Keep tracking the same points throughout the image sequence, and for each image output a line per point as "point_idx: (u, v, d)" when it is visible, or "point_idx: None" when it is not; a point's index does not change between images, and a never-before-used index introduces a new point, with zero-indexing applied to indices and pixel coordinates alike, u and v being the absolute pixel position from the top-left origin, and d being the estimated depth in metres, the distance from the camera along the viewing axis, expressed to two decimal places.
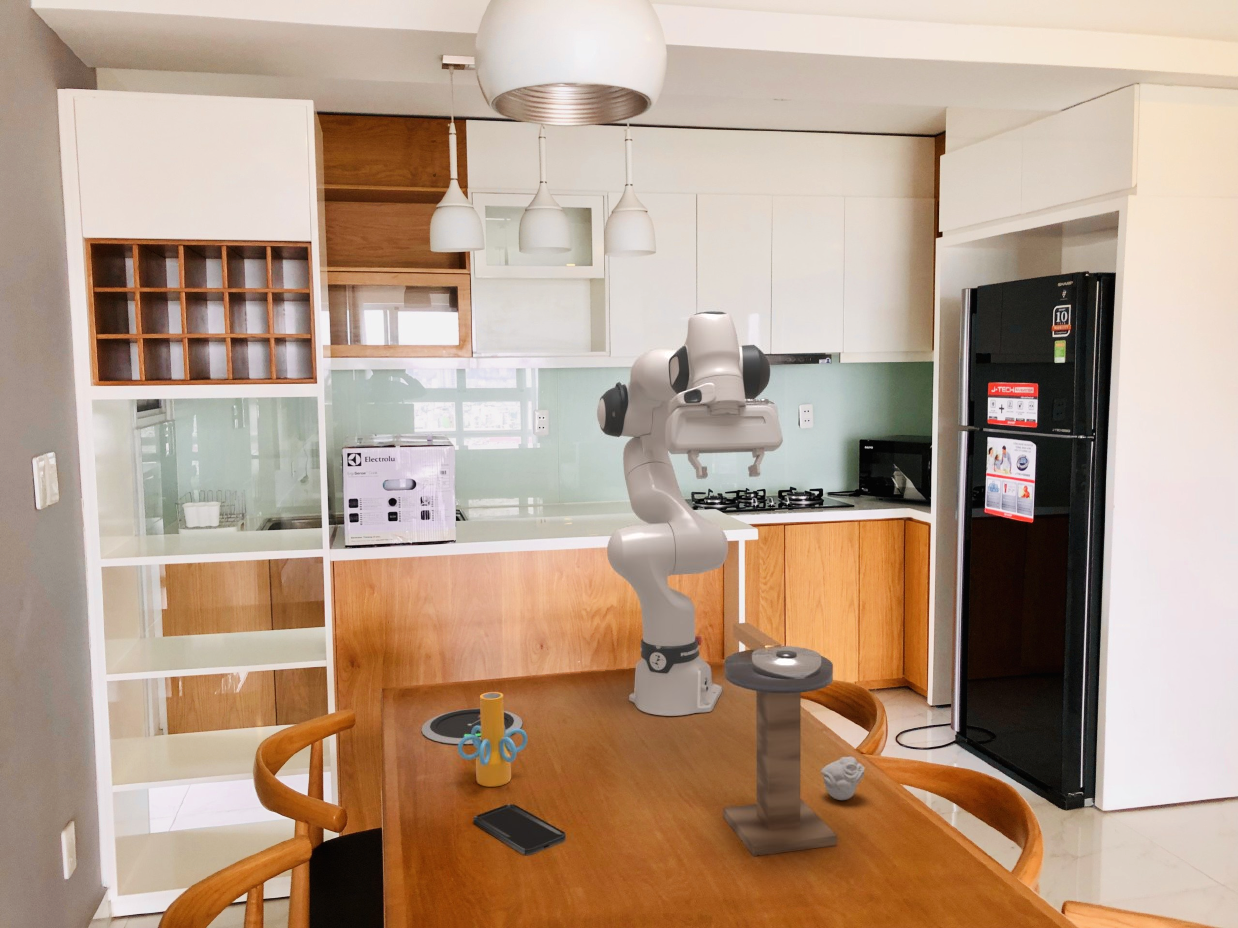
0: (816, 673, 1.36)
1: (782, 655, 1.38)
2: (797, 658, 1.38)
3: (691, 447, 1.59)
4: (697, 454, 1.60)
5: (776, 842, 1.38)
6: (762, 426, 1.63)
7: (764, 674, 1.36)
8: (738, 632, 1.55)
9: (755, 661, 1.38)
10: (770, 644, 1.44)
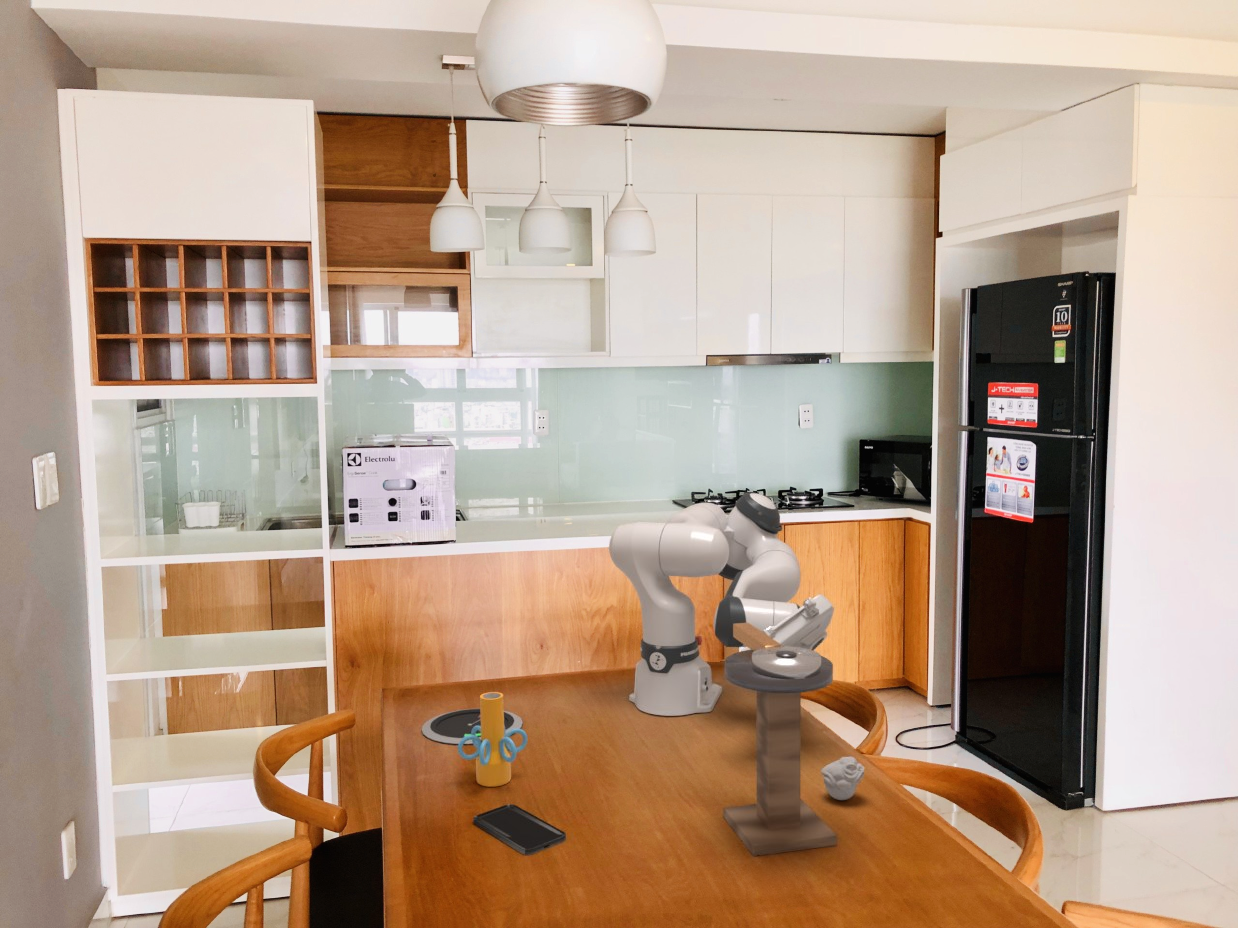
0: (816, 673, 1.36)
1: (782, 655, 1.38)
2: (797, 658, 1.38)
3: (820, 615, 1.72)
4: (814, 613, 1.71)
5: (776, 842, 1.38)
6: None
7: (764, 674, 1.36)
8: (738, 632, 1.55)
9: (755, 661, 1.38)
10: (770, 644, 1.44)
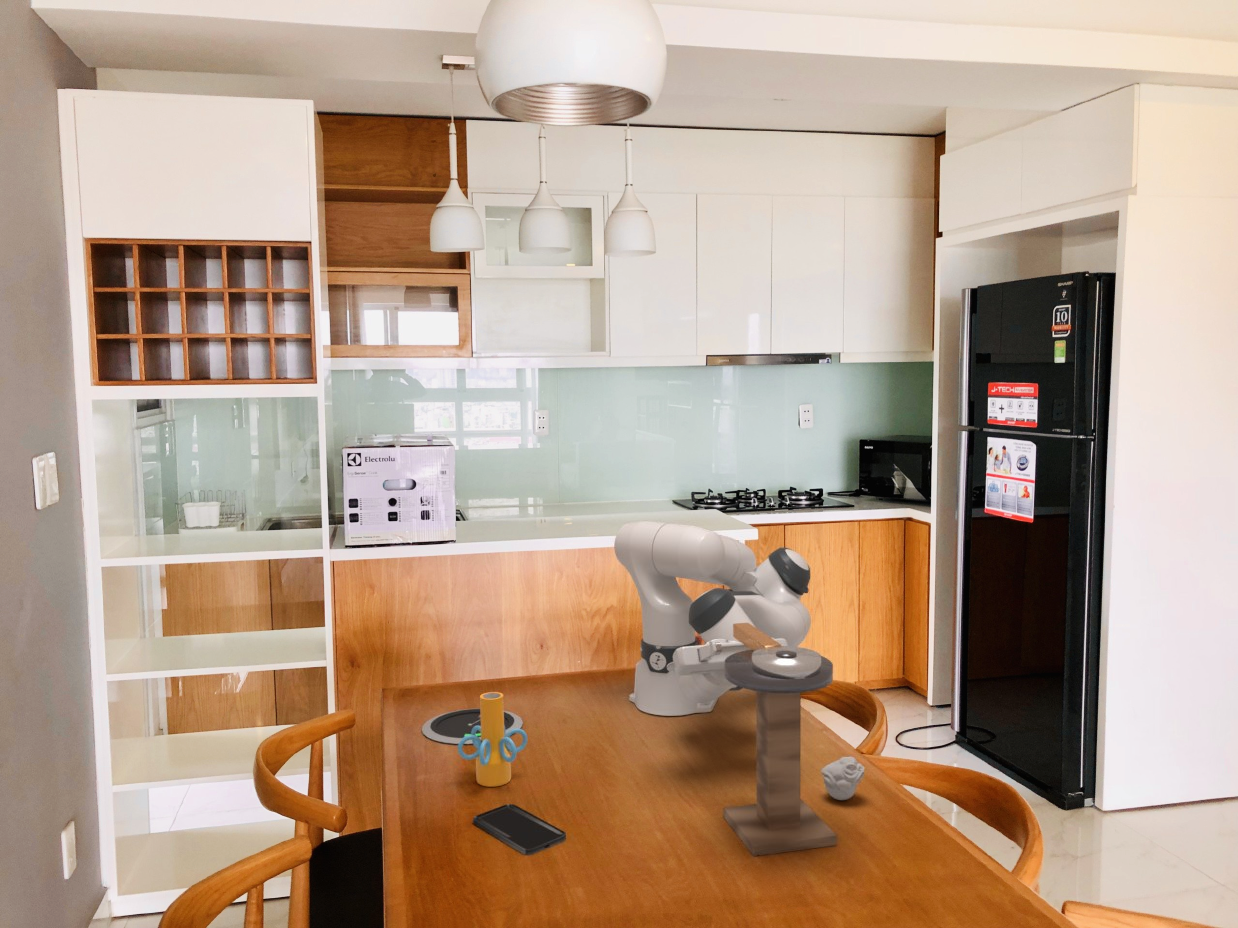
0: (816, 673, 1.36)
1: (782, 655, 1.38)
2: (797, 658, 1.38)
3: None
4: None
5: (776, 842, 1.38)
6: (695, 670, 1.63)
7: (764, 674, 1.36)
8: (738, 632, 1.55)
9: (755, 661, 1.38)
10: (770, 644, 1.44)
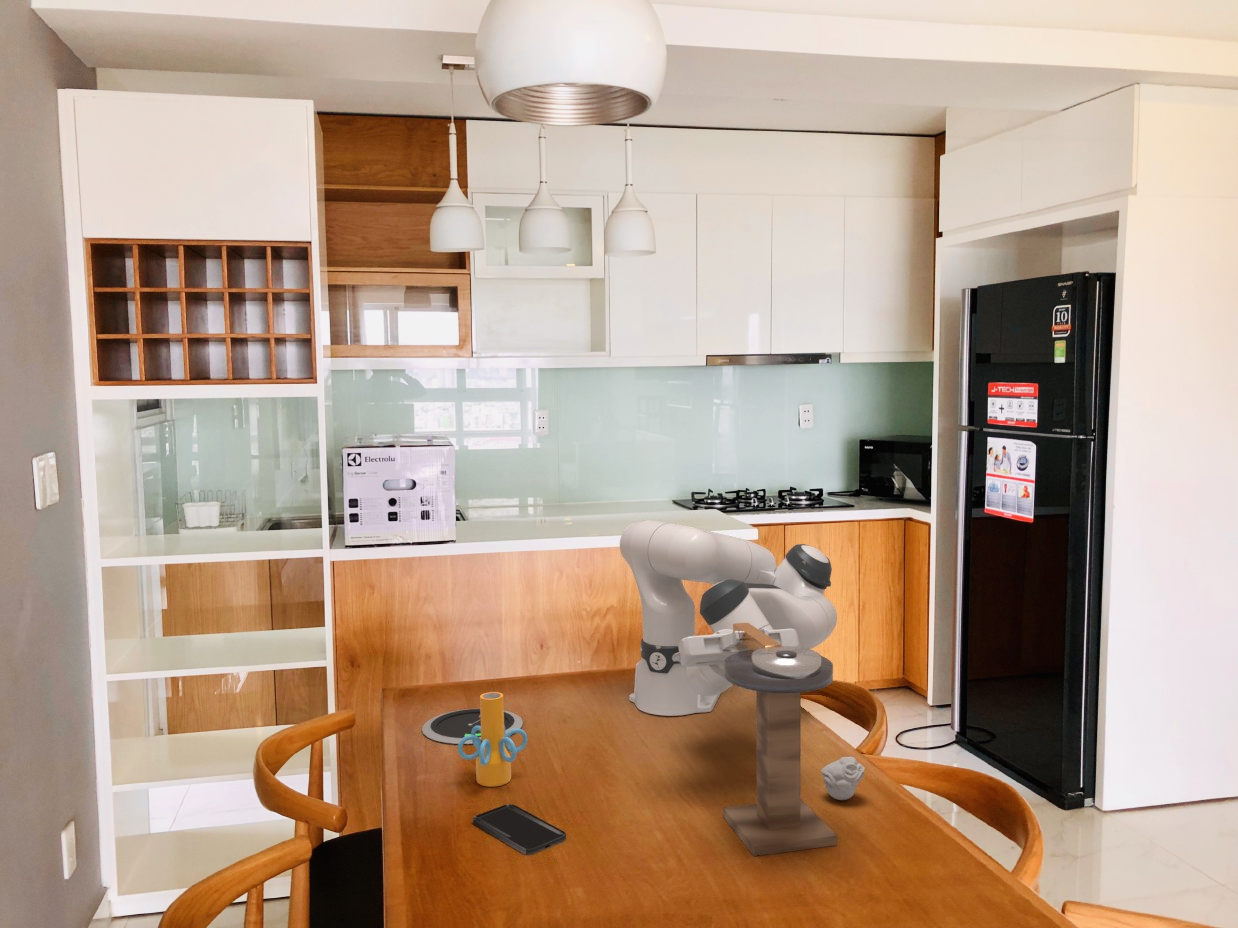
0: (816, 673, 1.36)
1: (782, 655, 1.38)
2: (797, 658, 1.38)
3: None
4: None
5: (776, 842, 1.38)
6: (701, 661, 1.58)
7: (764, 674, 1.36)
8: None
9: (755, 661, 1.38)
10: (770, 644, 1.44)
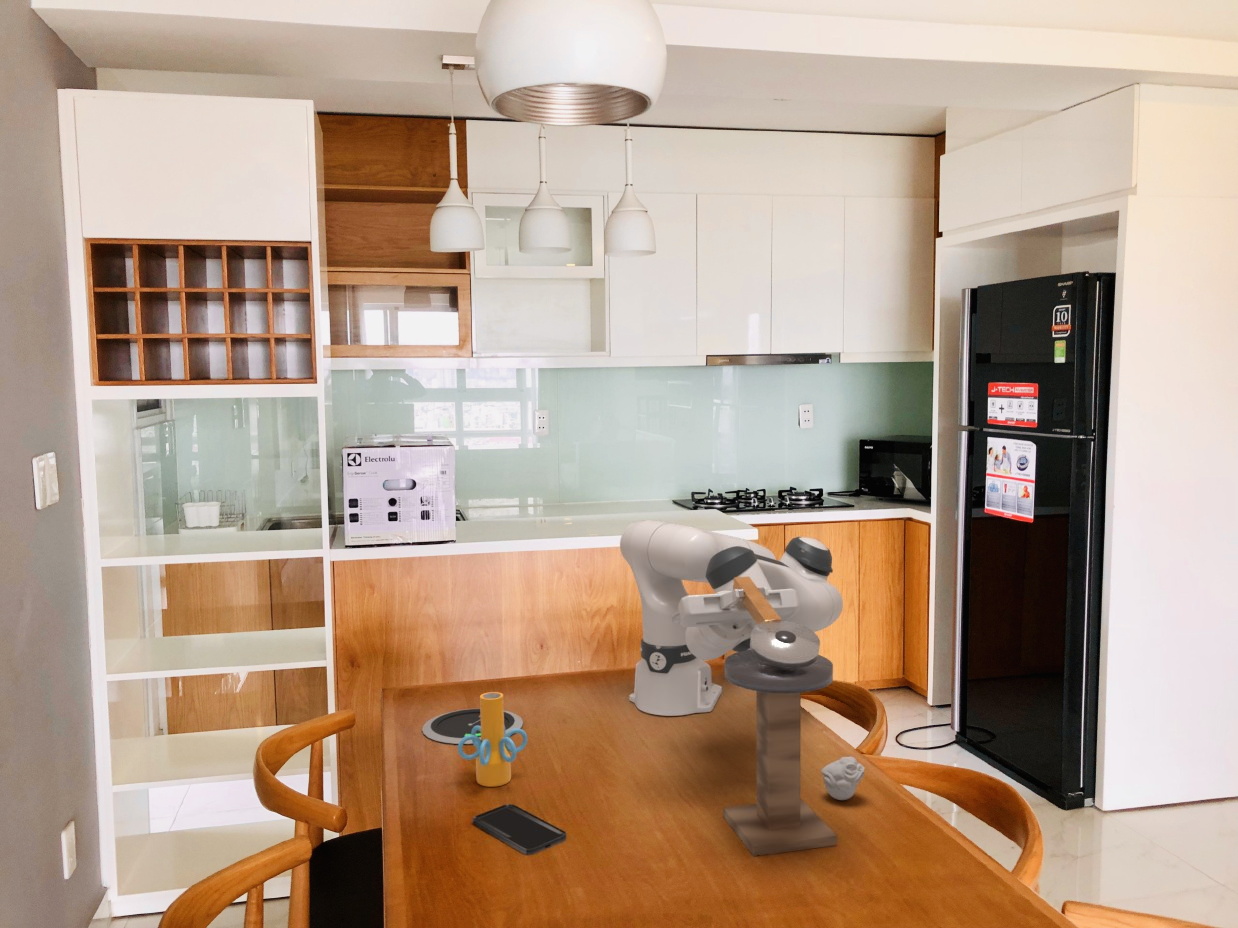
0: (813, 661, 1.37)
1: (781, 639, 1.38)
2: (796, 644, 1.38)
3: (782, 609, 1.57)
4: None
5: (776, 842, 1.38)
6: (701, 621, 1.57)
7: (762, 659, 1.37)
8: None
9: (754, 644, 1.38)
10: (770, 618, 1.44)
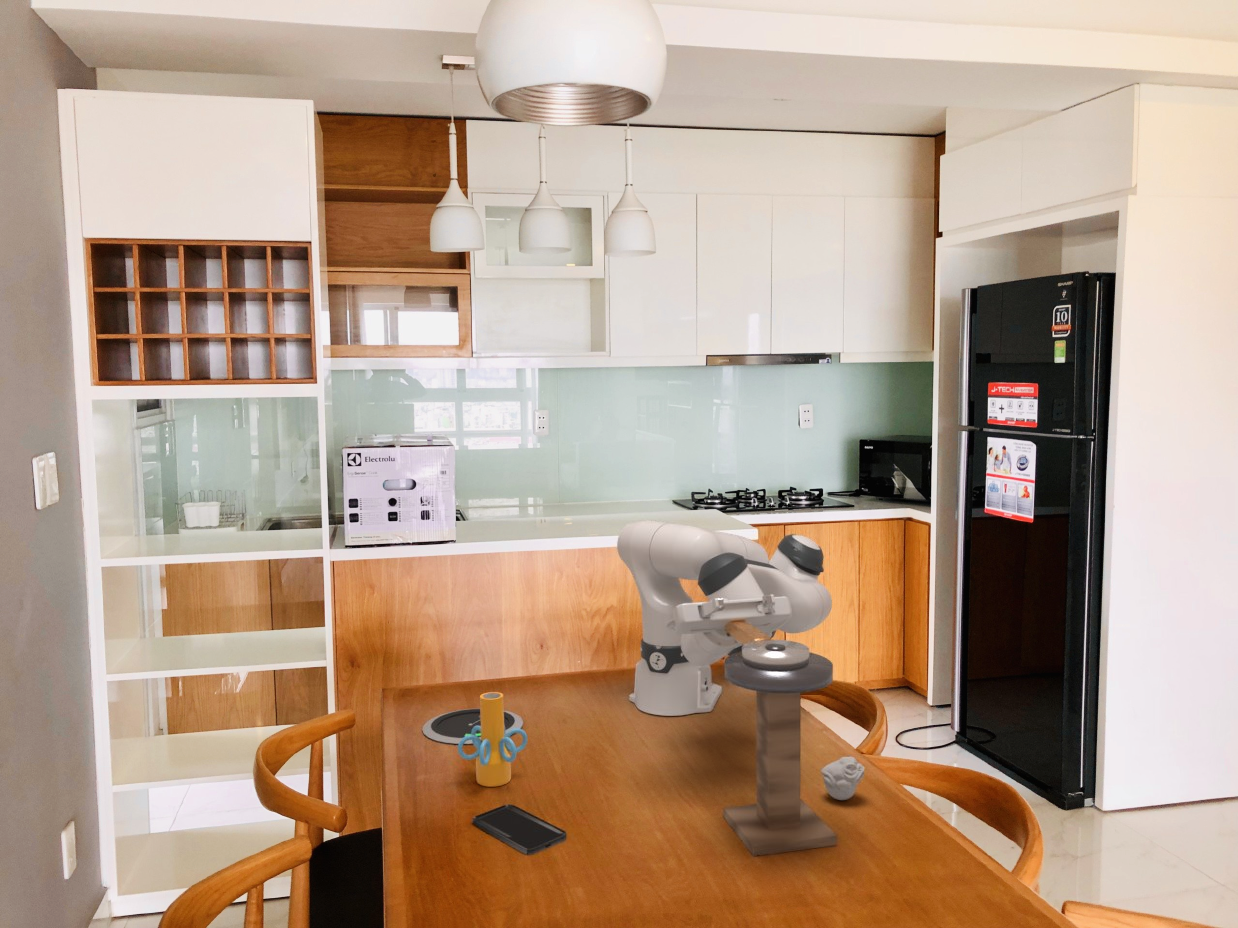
0: (804, 665, 1.40)
1: (771, 648, 1.42)
2: (786, 651, 1.41)
3: (775, 616, 1.60)
4: (768, 611, 1.59)
5: (776, 842, 1.38)
6: (695, 628, 1.60)
7: (753, 666, 1.40)
8: (730, 626, 1.59)
9: (745, 654, 1.42)
10: (760, 638, 1.48)
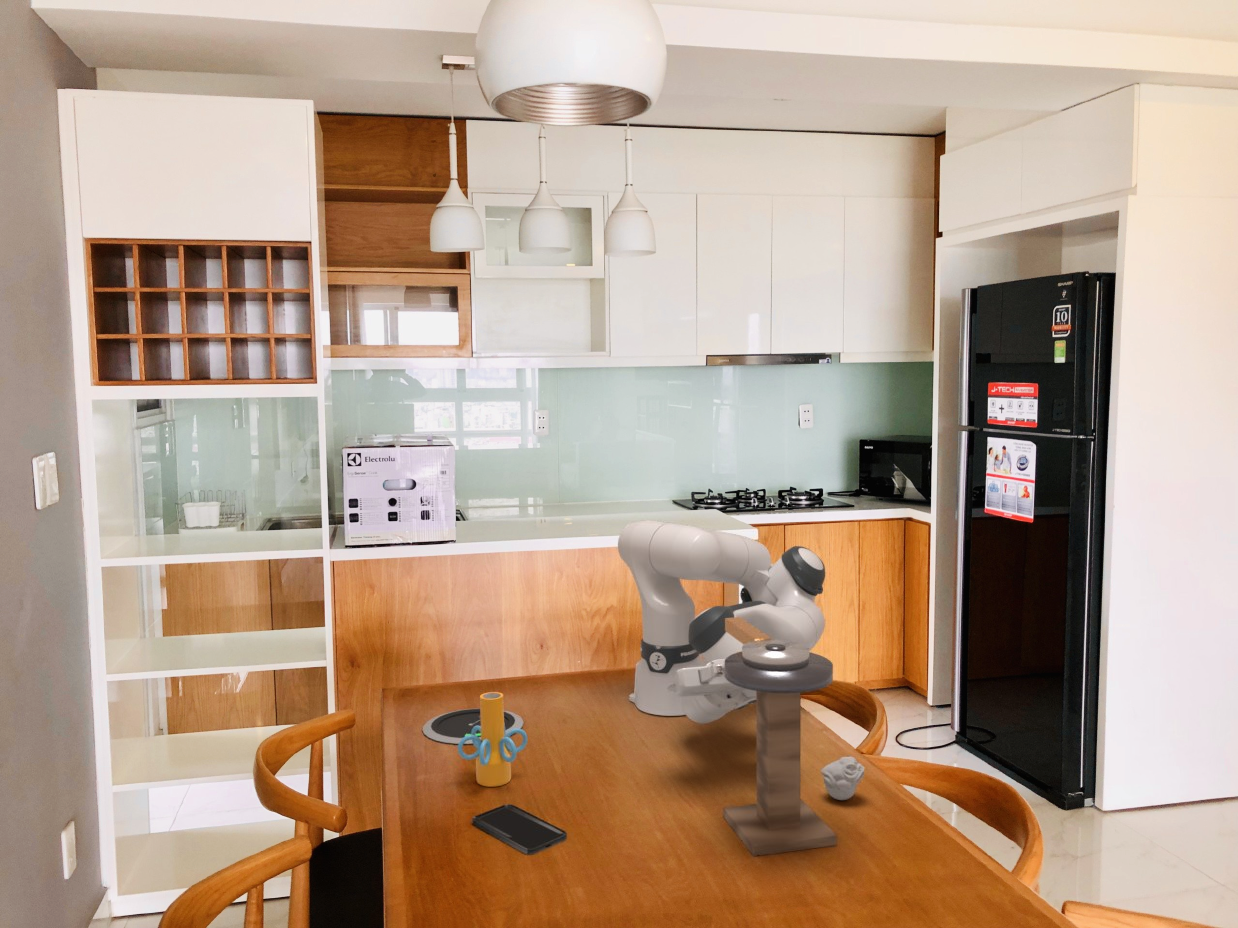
0: (804, 665, 1.40)
1: (771, 648, 1.42)
2: (786, 651, 1.41)
3: None
4: None
5: (776, 842, 1.38)
6: (696, 691, 1.61)
7: (753, 666, 1.40)
8: (730, 626, 1.59)
9: (745, 654, 1.42)
10: (760, 638, 1.48)
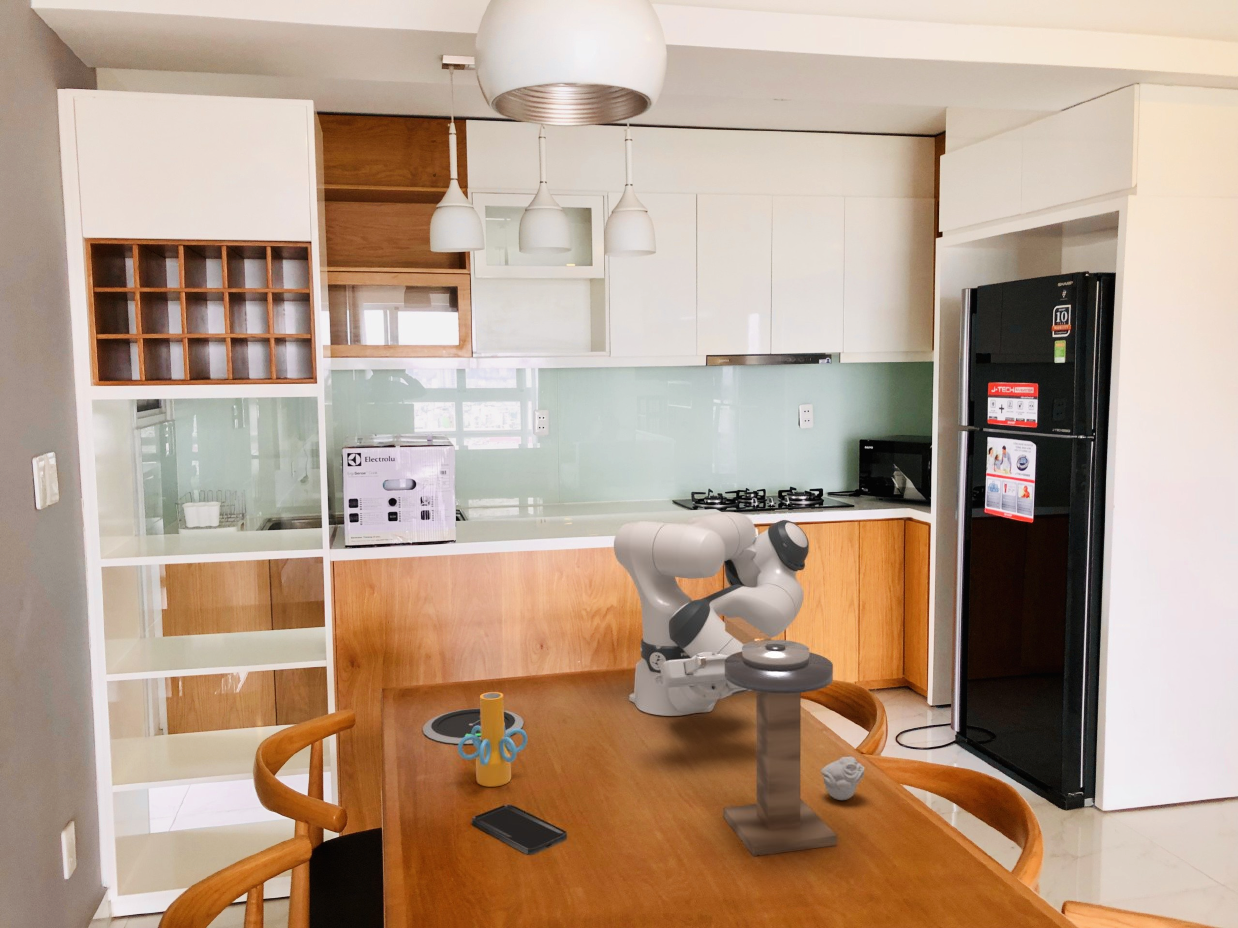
0: (804, 665, 1.40)
1: (771, 648, 1.42)
2: (786, 651, 1.41)
3: None
4: None
5: (776, 842, 1.38)
6: (681, 683, 1.70)
7: (753, 666, 1.40)
8: (730, 626, 1.59)
9: (745, 654, 1.42)
10: (760, 638, 1.48)
